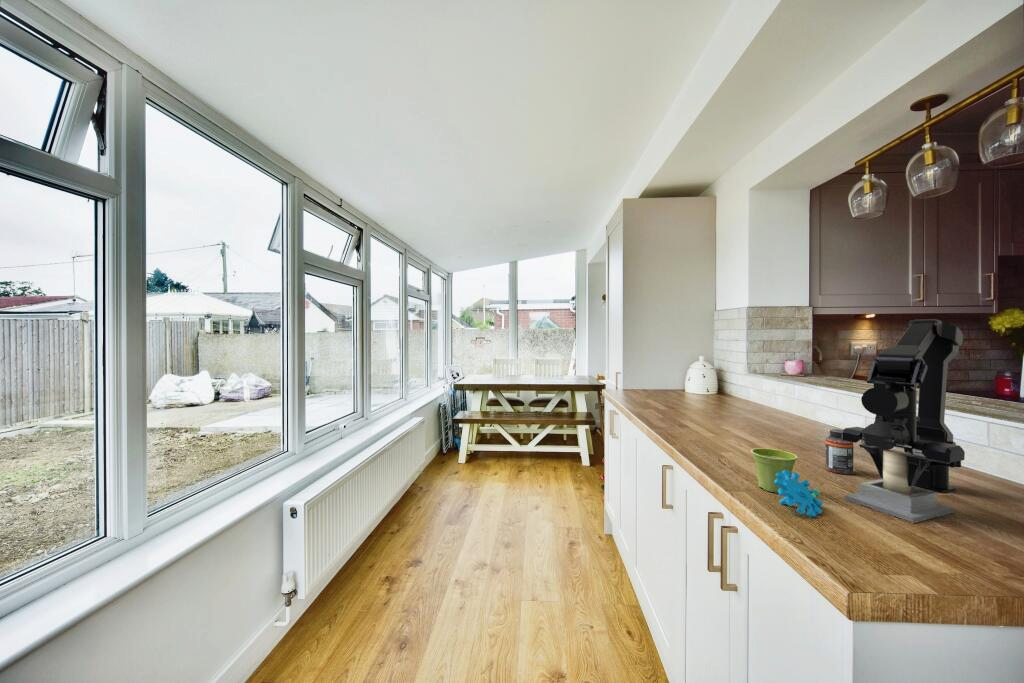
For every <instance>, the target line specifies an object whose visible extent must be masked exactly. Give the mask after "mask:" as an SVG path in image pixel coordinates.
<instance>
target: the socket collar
mask: <svg viewBox="0 0 1024 683" xmlns="http://www.w3.org/2000/svg"><path fill="white" fill-rule="evenodd" d="M858 484H859V486H858V487H859V488H858V489H859V490H858V492H859V496H860V497H863V498H866V499H869V500H872V501H875V502H878V503H881V504H884V505H887V506H891V507H894V508H897V509H900V510H903V511H906V512H909V513H913V512H918V511H922V510H926V509H930V508H934V507H937V503H938V501H937V500H938V497H937V495H938V492H937V491H935V492H934V491H933V490H930V489H926V488H922V487H919V486H915V485H914V486H911V495H904V494H900V493H897V492H894V491H890V490H887V489H884V488H883V479H882V478H878V479H874V480H868V481H863V482H859V483H858Z"/></svg>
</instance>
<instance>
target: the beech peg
mask: <svg viewBox="0 0 1024 683" xmlns="http://www.w3.org/2000/svg"><path fill="white" fill-rule="evenodd" d="M907 455H911V454H910V453H906V452H904V451H901V450H896V449H889V450H883V488H884V489H887V490H890V491H894V492H897V493H900V494H904V495H911V486H909V485H908V470H909V461H908V459H907V457H906V456H907Z"/></svg>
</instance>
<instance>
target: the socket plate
mask: <svg viewBox="0 0 1024 683" xmlns="http://www.w3.org/2000/svg"><path fill="white" fill-rule="evenodd" d="M843 498H844V499H845V500H844V501H847V500H848V501H847V502H850V501H851V502H850V503H853V502H854V504H856V503H857V505H858V504H860V505H859V506H861V505H863V506H862V507H864V506H867V507H870V508H873V509H875V510H874V511H876V510H878V511H877V512H879V511H881V512H880V513H882V512H883V513H882V514H885V513H886V514H885V515H888V514H890V515H892V516H891V517H893V516H896V517H899V518H902V519H905V520H908V521H911V522H916V521H920V520H923V521H925V520H924V519H927V520H930V519H929V518H931V519H934V517H935V518H939V517H942V516H946V514H947V515H951V514H953V513H954V508H953V507H950V506H947V505H943V504H940V503H938V502H937V507H934V508H930V509H926V510H922V511H918V512H913V513H909V512H906V511H903V510H900V509H897V508H894V507H891V506H887V505H884V504H881V503H878V502H875V501H872V500H869V499H866V498H863V497H860V496H859V491H858V492H853V493H849V494H844V497H843ZM867 507H866V508H867ZM870 508H869V509H870ZM873 509H872V510H873ZM950 513H951V514H950ZM890 515H889V516H890ZM896 517H895V518H896ZM899 518H898V519H899ZM902 519H901V520H902ZM905 520H904V521H905ZM908 521H907V522H908ZM911 522H910V523H911ZM920 522H921V521H920ZM916 523H917V522H916Z"/></svg>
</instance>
